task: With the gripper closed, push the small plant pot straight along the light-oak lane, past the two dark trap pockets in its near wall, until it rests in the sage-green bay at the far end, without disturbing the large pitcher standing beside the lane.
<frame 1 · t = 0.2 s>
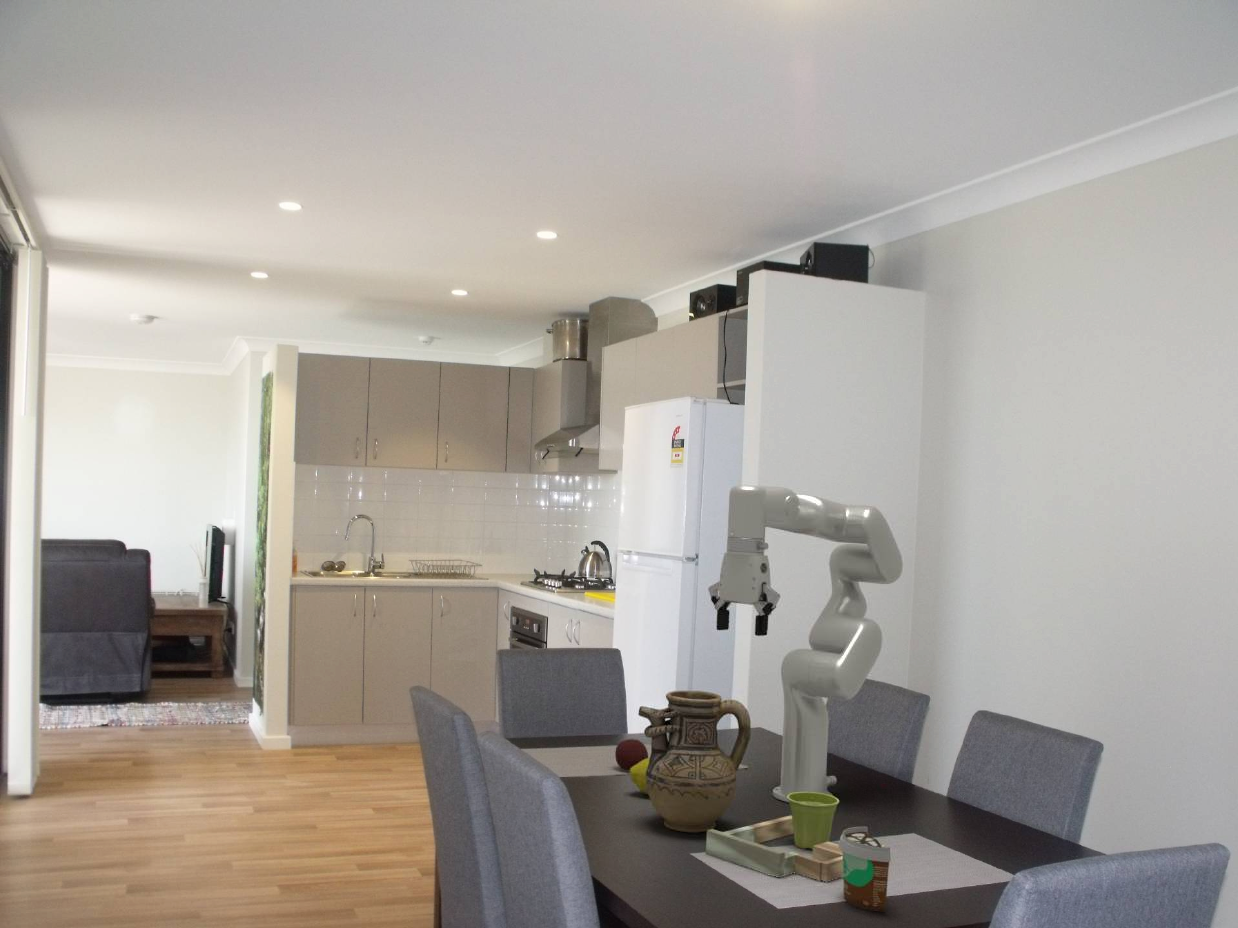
hand: (741, 632, 224), 36 cm above the table, tool pointing down, fingers open, 9 cm apart
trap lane: (791, 851, 201), on the table
decorative pitcher: (689, 827, 214), on the table
food container: (856, 901, 177), on the table
plant pot: (810, 846, 205), on the table
lemon: (654, 796, 236), on the table
dark red ball: (631, 770, 258), on the table
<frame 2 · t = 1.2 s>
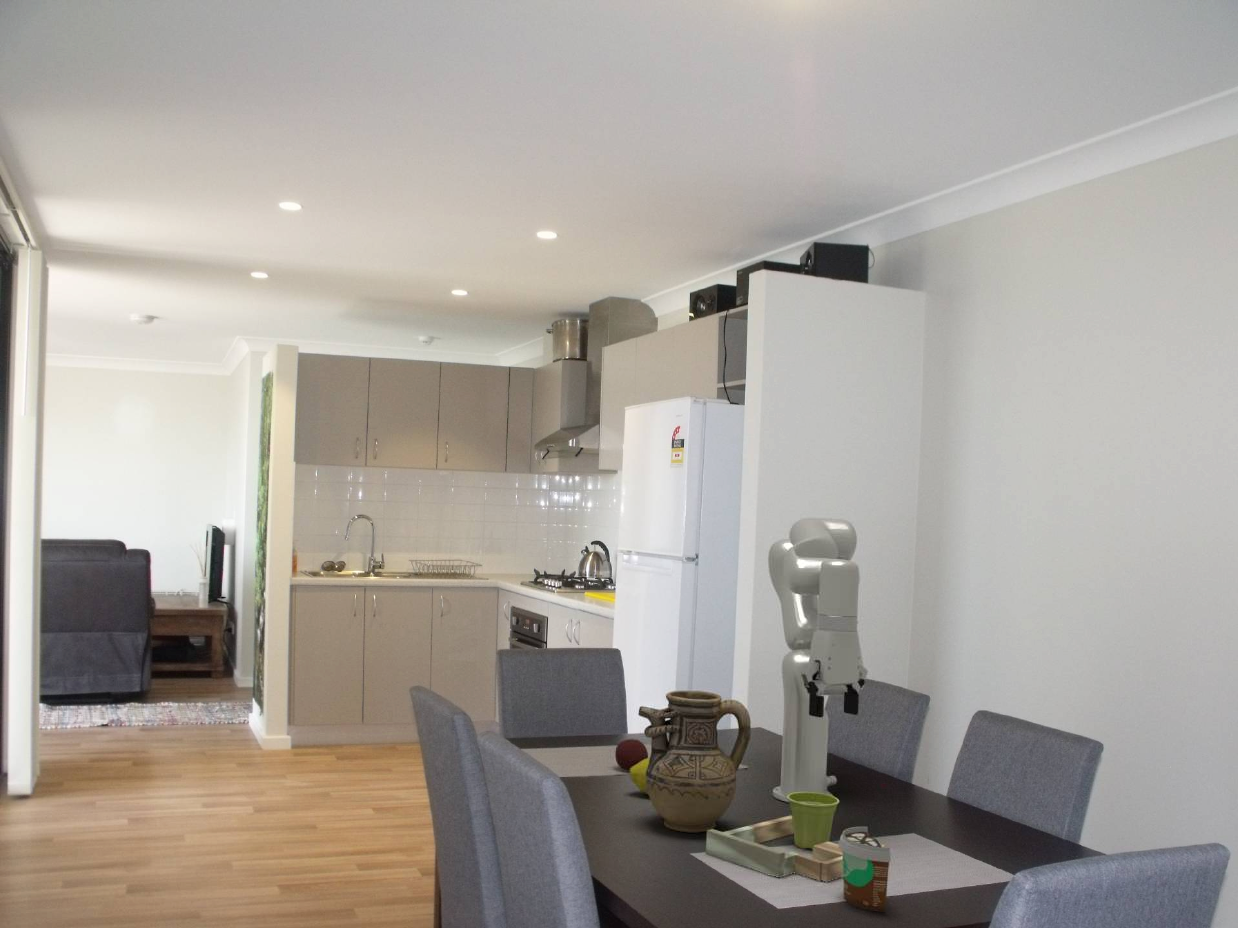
hand: (833, 714, 214), 23 cm above the table, tool pointing down, fingers open, 9 cm apart
nothing on the table moved.
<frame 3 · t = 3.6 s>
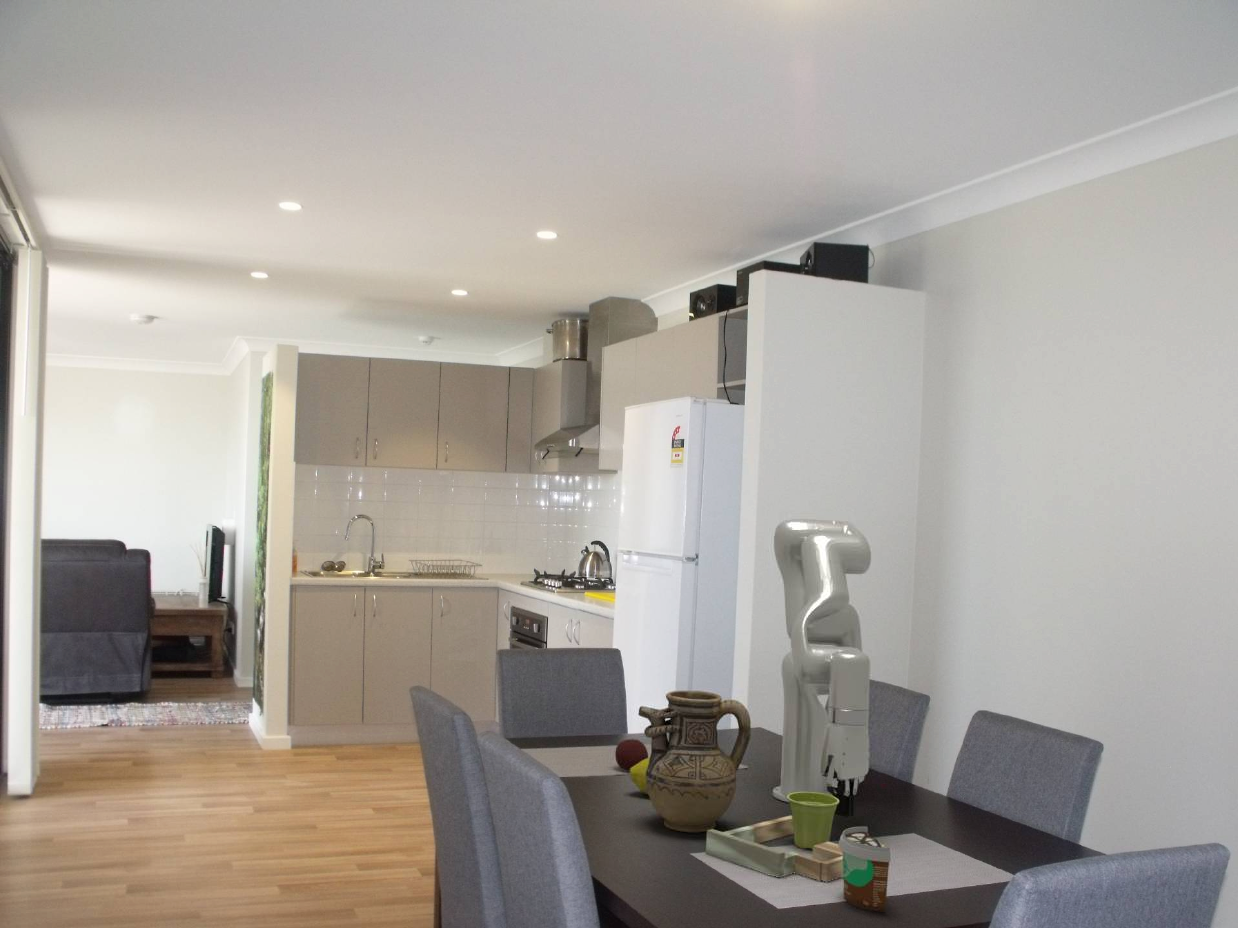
hand: (844, 814, 212), 4 cm above the table, tool pointing down, fingers closed
nothing on the table moved.
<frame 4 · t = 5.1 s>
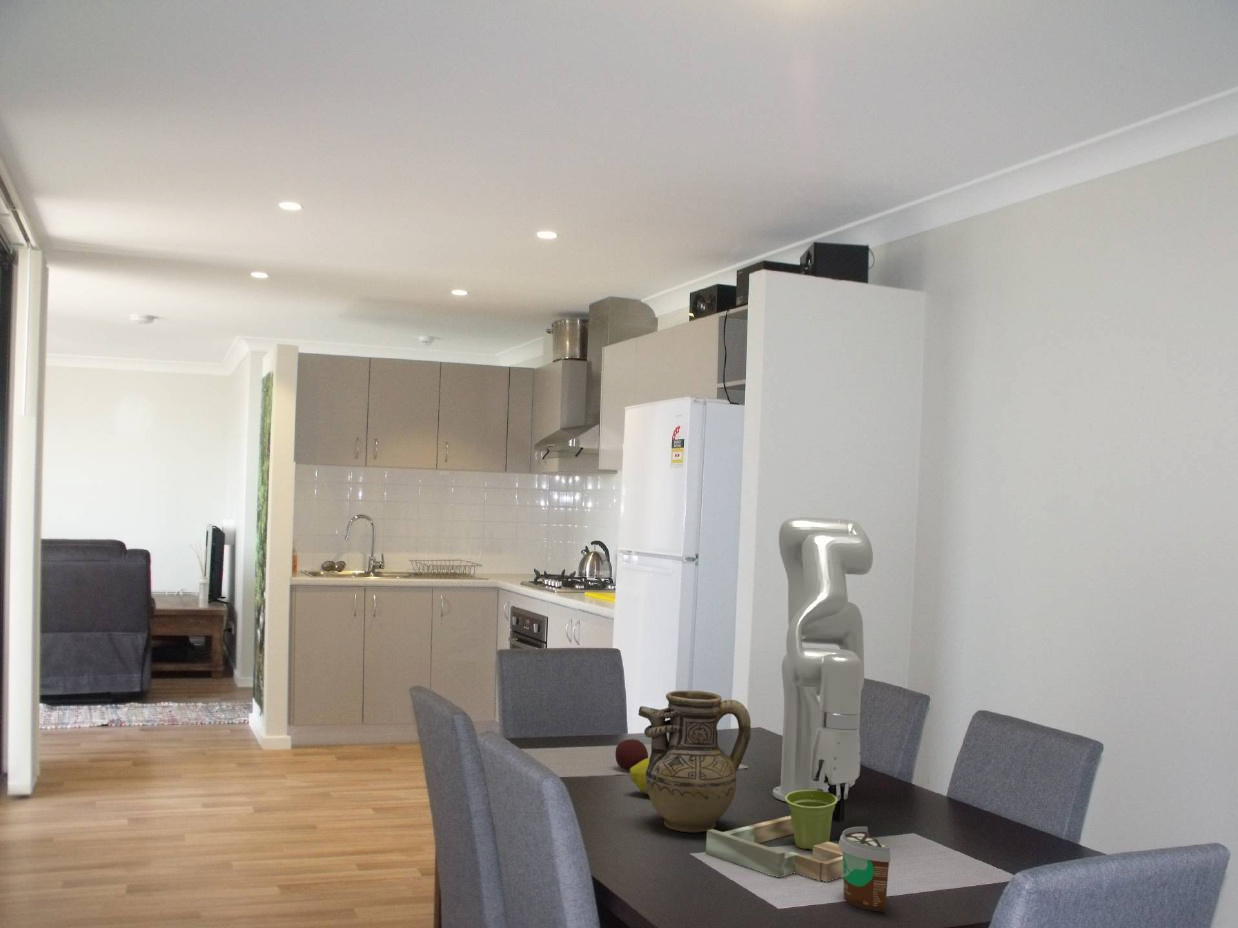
hand: (835, 819, 210), 4 cm above the table, tool pointing down, fingers closed
plant pot: (811, 845, 205), on the table, touching gripper
everything else where it was.
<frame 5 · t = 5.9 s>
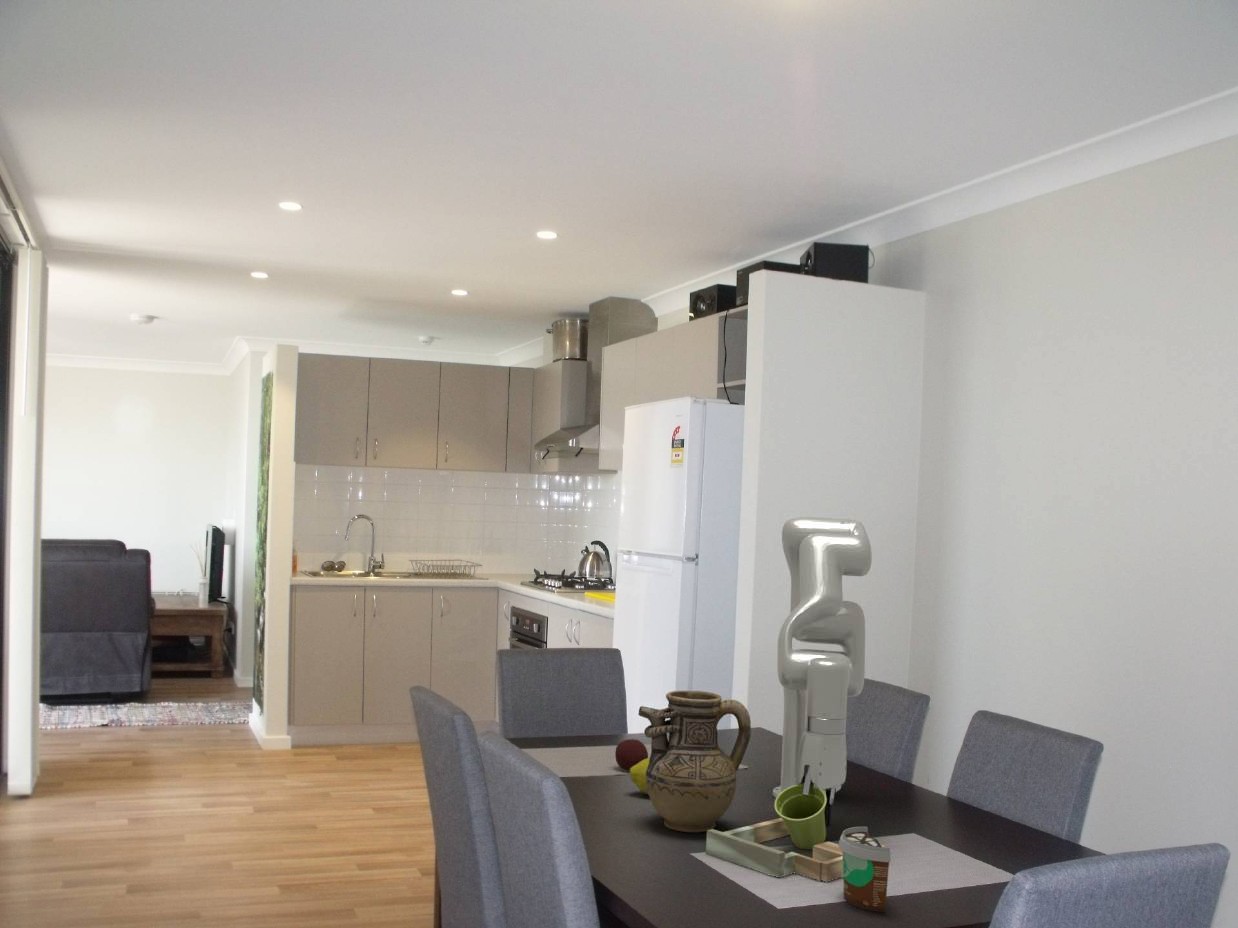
hand: (820, 824, 207), 3 cm above the table, tool pointing down, fingers closed
plant pot: (809, 839, 205), point 1 cm above the table, touching gripper
everything else where it was.
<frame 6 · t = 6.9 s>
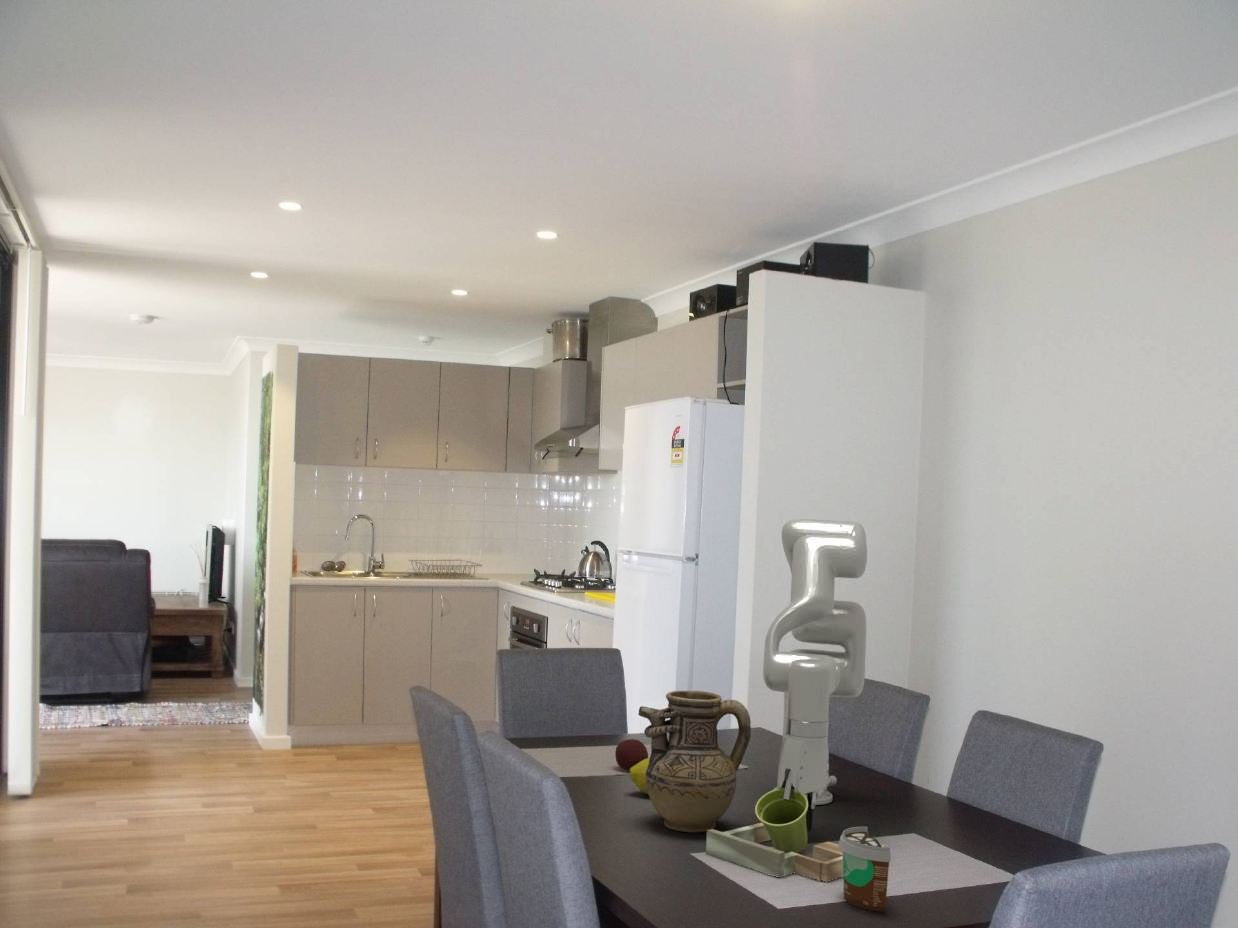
hand: (802, 829, 203), 3 cm above the table, tool pointing down, fingers closed
plant pot: (790, 844, 201), point 1 cm above the table, touching gripper
everything else where it was.
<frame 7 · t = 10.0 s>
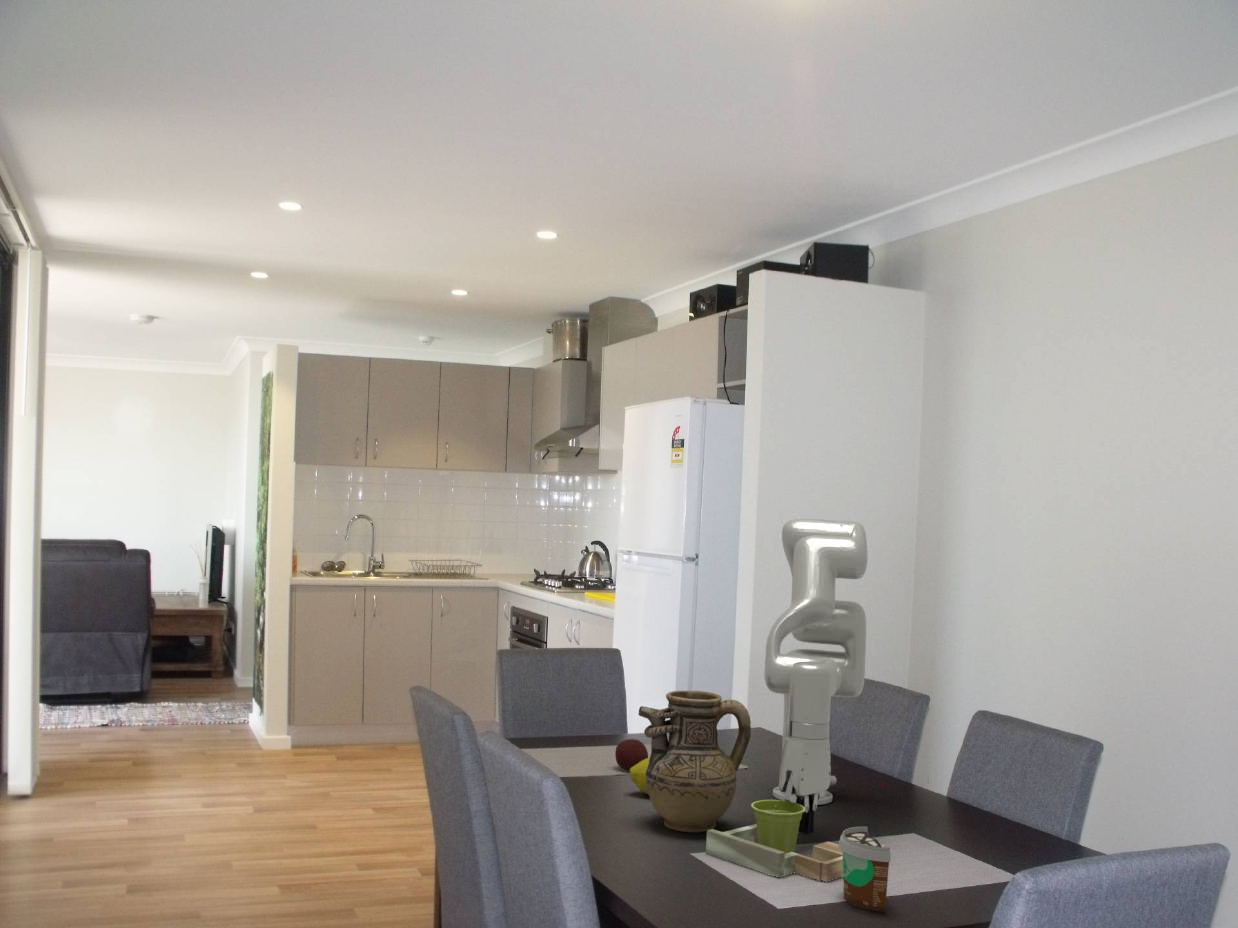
hand: (803, 831, 204), 3 cm above the table, tool pointing down, fingers closed
plant pot: (776, 856, 198), on the table
everything else where it was.
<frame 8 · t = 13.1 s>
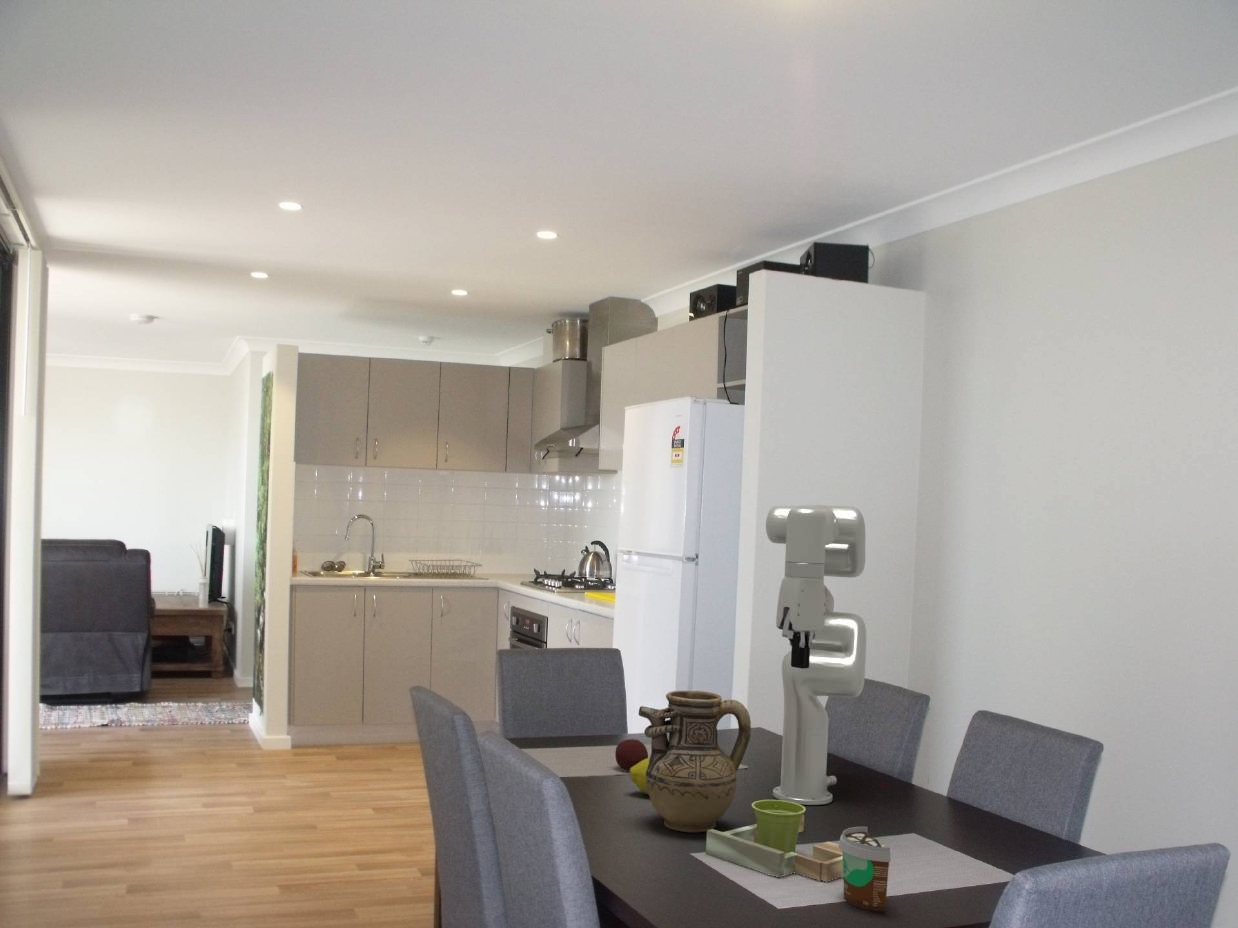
hand: (799, 667, 216), 31 cm above the table, tool pointing down, fingers closed
nothing on the table moved.
at the end: plant pot inside the target area (3.4 cm from its centre), on the table; plant pot tilted 0°; decorative pitcher moved 0.2 cm from its start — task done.
